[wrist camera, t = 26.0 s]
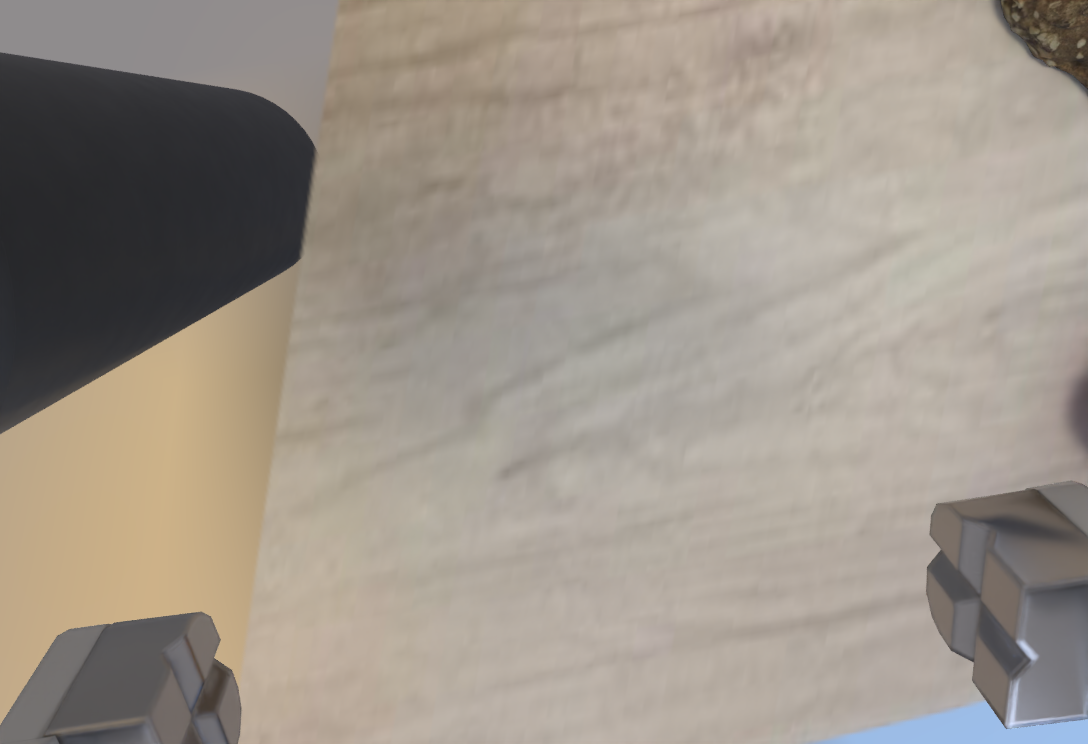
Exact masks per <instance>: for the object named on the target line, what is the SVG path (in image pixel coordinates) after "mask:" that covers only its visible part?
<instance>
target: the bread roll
mask: <svg viewBox="0 0 1088 744" xmlns="http://www.w3.org/2000/svg"><path fill="white" fill-rule="evenodd" d="M1001 5H1002V9H1003V13H1004V17H1005V19H1006V20H1007V22H1008V23H1009V24H1010V28H1011V31H1013V32H1014V33H1016V34H1018V35H1019V36H1020V37H1021V38H1022V39H1023V40H1024V41H1025V42H1026V43H1027V45H1028V47H1029V49H1030V51H1031V52H1032V54H1033V56H1034V57H1036V58H1038V59H1041V60H1043V61H1044V62H1045V63H1046V64H1047V65H1048V66H1049V67H1051V66H1055V67H1057V68H1059V69H1061V70H1063V71H1065V72H1067V73H1070V74H1072V75H1073V76H1074V77H1075V78H1076V79H1078V80H1079V81H1080V82H1081V83H1082V84H1083V85H1084V86H1085V87H1086V88H1087V89H1088V0H1001Z"/></svg>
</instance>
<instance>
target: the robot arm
mask: <svg viewBox="0 0 1088 744" xmlns="http://www.w3.org/2000/svg"><path fill="white" fill-rule="evenodd" d="M930 536H931V537H932V538H933V540H934V541H935V542H936V544H937V545H938V546H939V547H940V549H941V550H940V552H939V553H938V554H937V555H936V557H935V558H934V559H933V560H932V562H931V563H930V564H929V565H928V567H927V585H926V592H927V597H928V602H929V606H930V611H931V615H932V618H933V620H934V622H935V624H936V627H937V629H938V631H939V633H940V635H941V636H942V638H943V639H944V641H945V642H946V644H947V645H948V647H949V648H950V650H951V651H953V652H955V653H957V654H959V655H961V656H962V657H964V658H966V659H968V660H970V661H972V662H974V667H973V677H972V681H973V683H974V684H975V686H976V687H977V688H978V690H979V691H980V693H981V694H982V696H983V697H984V698H985V700H986V701H987V703H988V704H989V705H990V707H991V708H992V710H993V711H994V713H995V714H996V715H997V717H998V718H999V720H1000V721H1001V722H1002V724H1003V725H1004V727H1005V728H1006V729H1011V728H1019V727H1027V726H1036V725H1044V724H1052V723H1060V722H1068V721H1076V720H1084V719H1088V487H1086V486H1085V485H1083V484H1080V483H1077V482H1074V481H1066V482H1060V483H1054V484H1049V485H1043V486H1037V487H1031V488H1026V489H1025V490H1023V491H1017V492H1010V493H1003V494H997V495H990V496H984V497H977V498H971V499H964V500H957V501H951V502H944V503H938V504H936V506H935V508H934V511H933V513H932V515H931V523H930ZM220 640H221V639H220V637H219V635H218V632H217V630H216V627H215V625H214V623H213V620H212V618H211V616H209V615H207V614H205V613H203V612H196V613H187V614H179V615H172V616H163V617H155V618H147V619H139V620H132V621H124V622H116V623H113V624H103V625H96V626H88V627H81V628H74V629H69V630H67V631H66V632H64V633H62V634H60V635H58V636H57V637H56V639H55V640H54V642H53V643H52V645H51V646H50V648H49V649H48V651H47V653H46V654H45V656H44V657H43V659H42V661H41V662H40V664H39V665H38V667H37V668H36V670H35V672H34V673H33V675H32V676H31V678H30V679H29V681H28V683H27V684H26V686H25V687H24V689H23V690H22V692H21V693H20V695H19V697H18V698H17V700H16V701H15V703H14V704H13V706H12V707H11V709H10V711H9V712H8V714H7V715H6V717H5V718H4V720H3V722H2V723H1V725H0V744H238V740H239V737H240V725H241V702H240V696H239V690H238V686H237V683H236V680H235V677H234V674H233V672H232V670H231V669H229V668H228V667H226V666H225V665H224V664H222V663H221V662H219V661H218V660H216V659H215V658H214V656H215V653H216V651H217V648H218V646H219V643H220Z"/></svg>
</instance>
